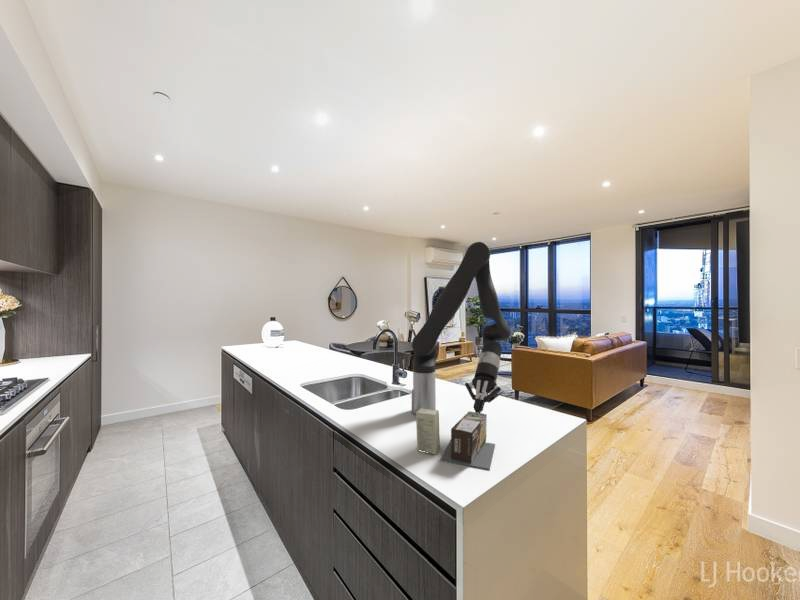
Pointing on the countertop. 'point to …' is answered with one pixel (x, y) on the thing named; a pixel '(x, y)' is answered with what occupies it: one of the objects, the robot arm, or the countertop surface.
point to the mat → (479, 461)
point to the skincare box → (428, 430)
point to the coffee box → (468, 436)
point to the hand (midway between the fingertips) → (477, 411)
